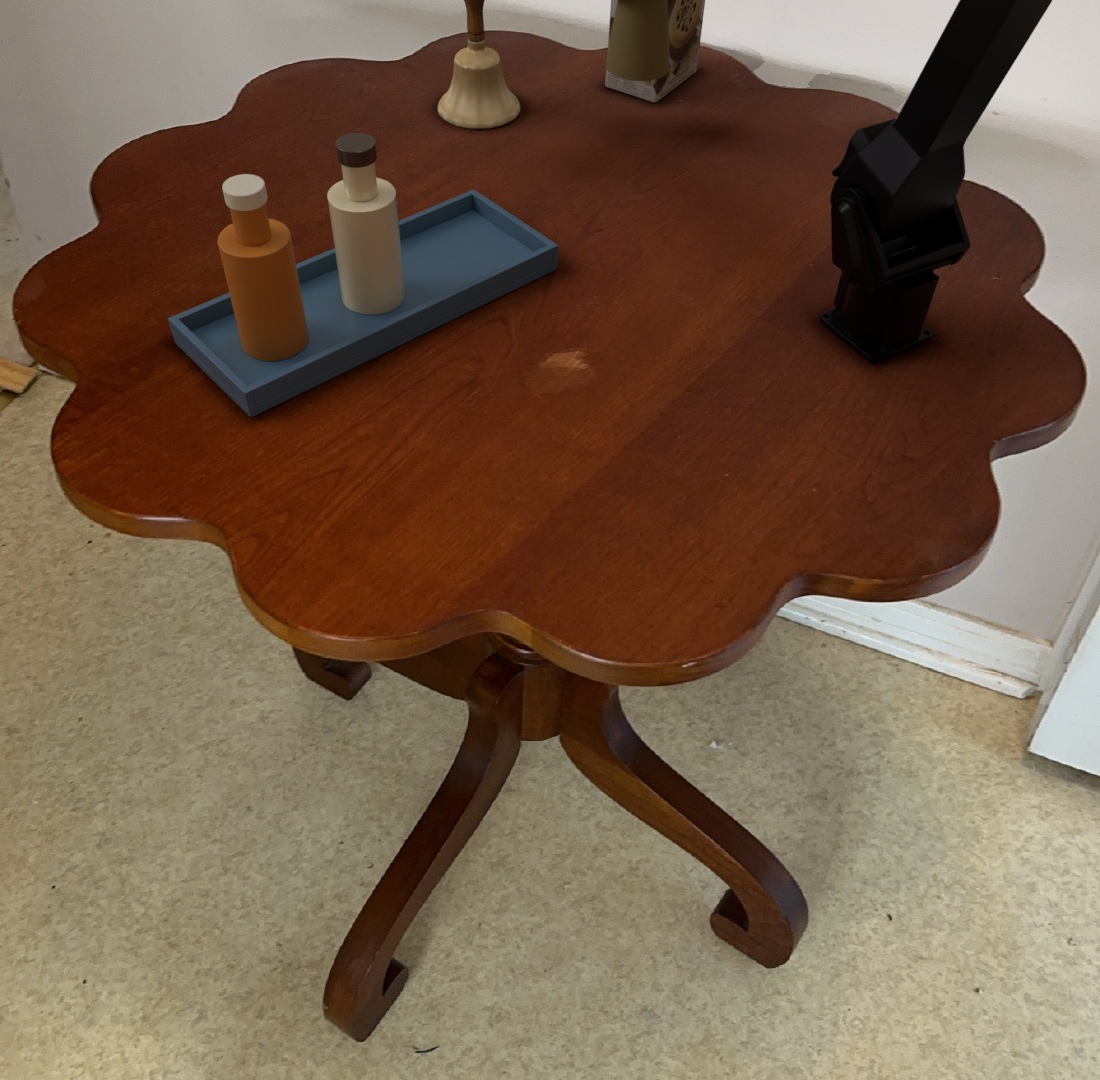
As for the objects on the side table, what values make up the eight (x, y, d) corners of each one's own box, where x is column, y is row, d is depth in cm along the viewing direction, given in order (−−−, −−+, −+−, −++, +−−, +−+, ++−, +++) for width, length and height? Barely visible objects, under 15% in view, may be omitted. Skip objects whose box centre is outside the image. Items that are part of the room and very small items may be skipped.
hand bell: (459, 136, 106) (452, -39, 94) (424, 100, 110) (412, -71, 99) (535, 118, 108) (537, -54, 97) (497, 83, 113) (494, -85, 101)
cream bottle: (416, 303, 86) (403, 149, 77) (357, 322, 84) (337, 167, 75) (388, 271, 89) (373, 119, 79) (331, 288, 87) (308, 135, 78)
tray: (474, 212, 97) (473, 188, 95) (557, 269, 91) (558, 245, 89) (174, 342, 84) (167, 318, 82) (250, 418, 78) (244, 393, 76)
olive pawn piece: (665, 84, 100) (677, -45, 92) (600, 77, 101) (606, -51, 93) (673, 56, 104) (686, -70, 96) (611, 49, 105) (618, -76, 97)
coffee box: (657, 105, 111) (674, -67, 99) (603, 88, 113) (613, -83, 101) (699, 71, 116) (720, -96, 104) (646, 56, 118) (661, -110, 106)
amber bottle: (319, 348, 82) (292, 192, 73) (256, 369, 80) (220, 212, 71) (293, 313, 85) (265, 158, 75) (232, 333, 83) (194, 176, 74)
